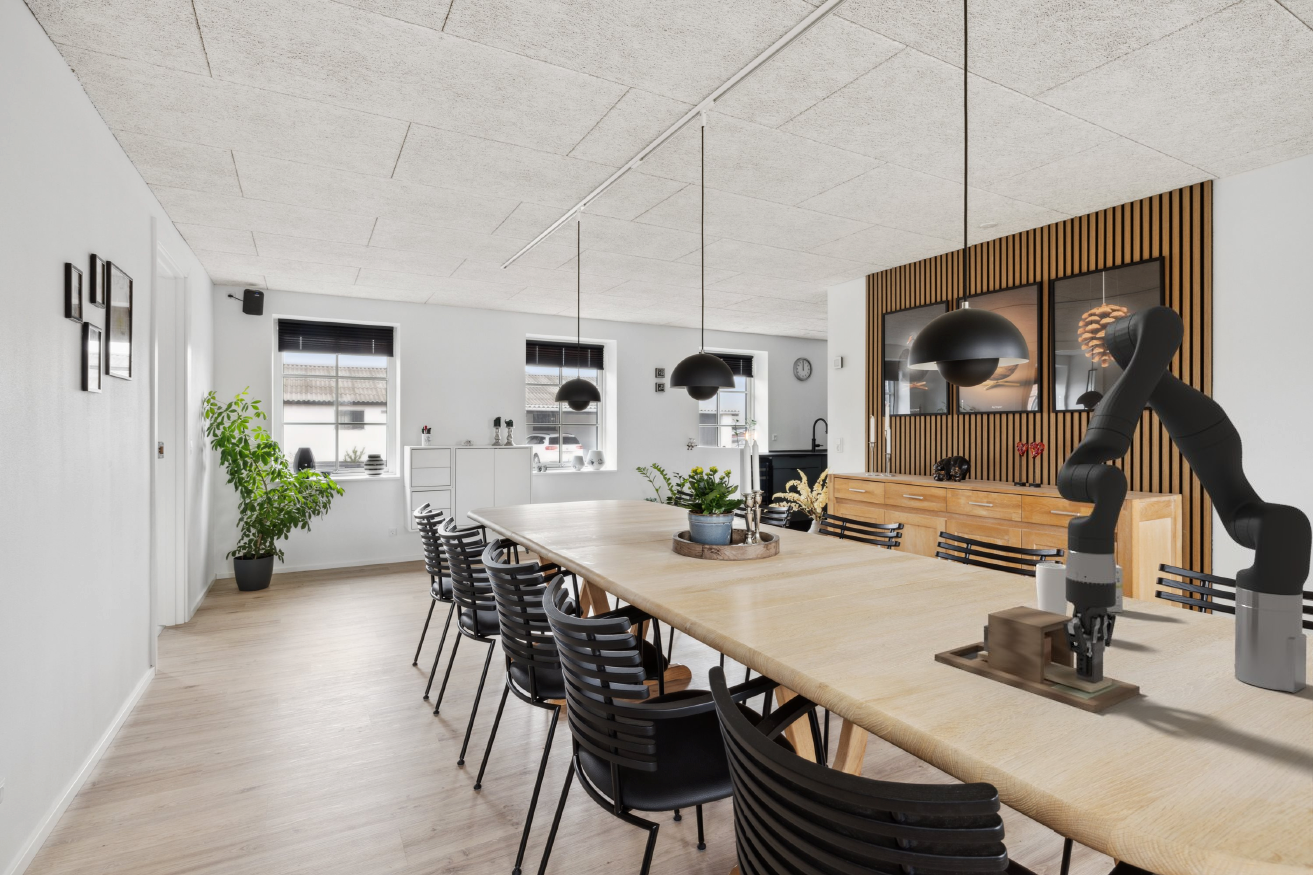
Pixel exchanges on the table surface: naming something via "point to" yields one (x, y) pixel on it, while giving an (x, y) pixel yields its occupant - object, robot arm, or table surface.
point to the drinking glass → (1051, 587)
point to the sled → (1064, 672)
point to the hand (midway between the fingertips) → (1089, 673)
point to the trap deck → (1031, 658)
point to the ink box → (1118, 591)
